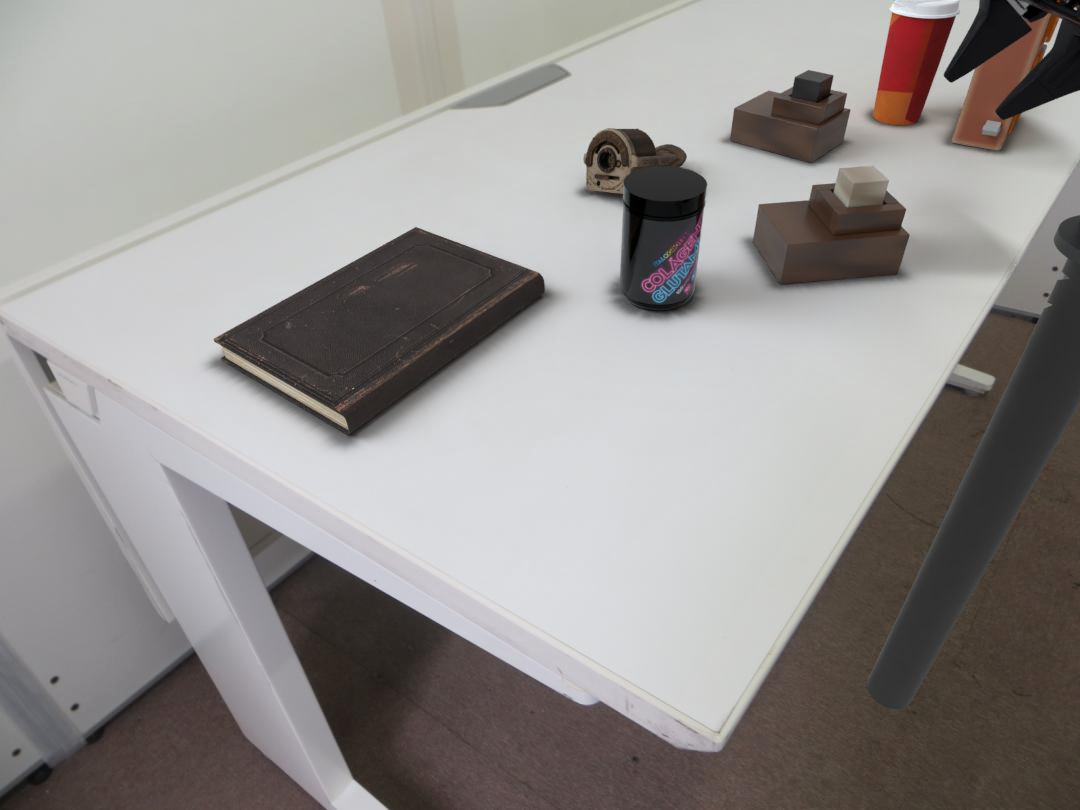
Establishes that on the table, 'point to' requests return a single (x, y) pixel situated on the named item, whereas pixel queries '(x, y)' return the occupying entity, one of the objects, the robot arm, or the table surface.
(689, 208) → the supplement container
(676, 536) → the table surface
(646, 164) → the mechanical counter
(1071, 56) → the robot arm
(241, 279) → the table surface
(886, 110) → the paper cup
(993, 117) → the control panel
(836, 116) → the push button base
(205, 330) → the table surface
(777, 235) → the brown push button box
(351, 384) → the hardcover book
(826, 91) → the black key
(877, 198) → the ivory key
